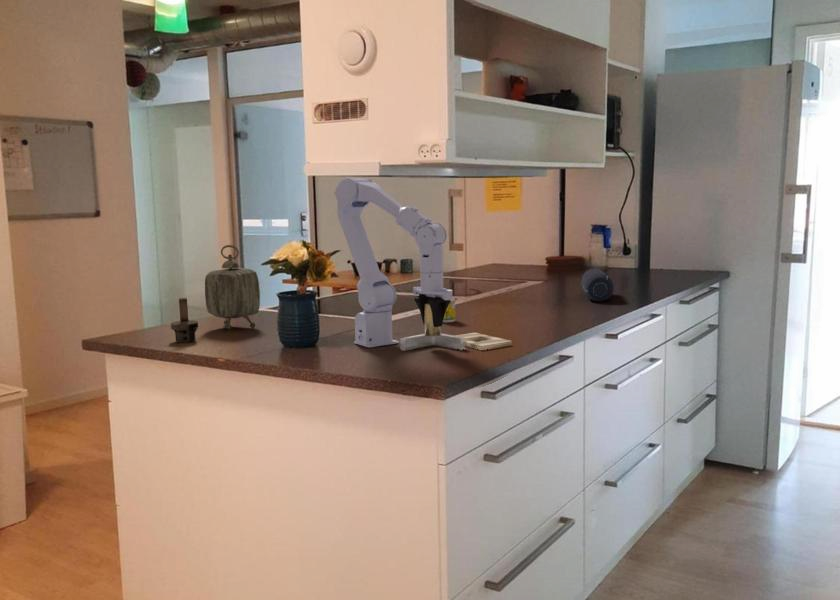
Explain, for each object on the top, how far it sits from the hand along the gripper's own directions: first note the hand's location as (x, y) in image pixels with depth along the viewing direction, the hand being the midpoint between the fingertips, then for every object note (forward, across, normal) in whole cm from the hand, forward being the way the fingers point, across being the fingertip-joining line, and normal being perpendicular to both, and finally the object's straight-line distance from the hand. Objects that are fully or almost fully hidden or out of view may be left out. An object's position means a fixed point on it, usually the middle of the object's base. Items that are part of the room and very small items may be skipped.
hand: (432, 325), depth 197 cm
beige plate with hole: (+6, -2, -13) cm, 14 cm away
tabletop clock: (+6, +63, +29) cm, 70 cm away
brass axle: (+2, 0, 0) cm, 2 cm away
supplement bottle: (+6, +31, -27) cm, 42 cm away
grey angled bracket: (+6, +2, -1) cm, 6 cm away
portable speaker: (+6, +35, -98) cm, 104 cm away
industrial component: (+6, +53, +47) cm, 71 cm away
